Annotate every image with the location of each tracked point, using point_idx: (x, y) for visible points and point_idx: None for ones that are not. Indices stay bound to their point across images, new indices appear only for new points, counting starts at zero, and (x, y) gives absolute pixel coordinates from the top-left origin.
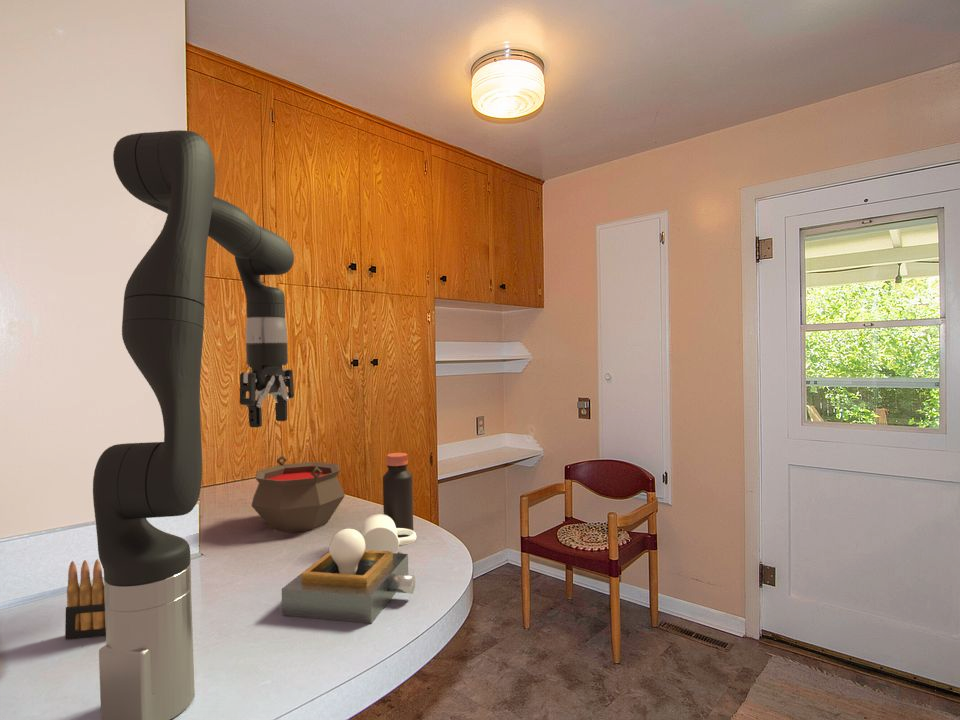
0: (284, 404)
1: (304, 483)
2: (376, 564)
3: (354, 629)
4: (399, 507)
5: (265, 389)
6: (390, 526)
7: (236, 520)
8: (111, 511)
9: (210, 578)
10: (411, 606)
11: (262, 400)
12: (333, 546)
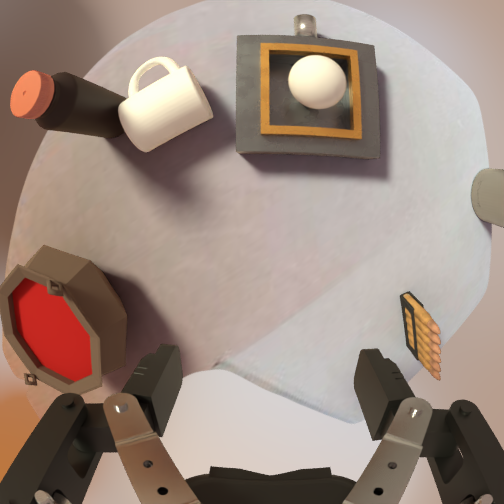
0: (154, 394)
1: (75, 301)
2: (312, 49)
3: (378, 70)
4: (103, 92)
5: (413, 467)
6: (169, 77)
7: (110, 382)
8: None
9: (285, 310)
10: (318, 26)
11: (394, 425)
12: (343, 93)
